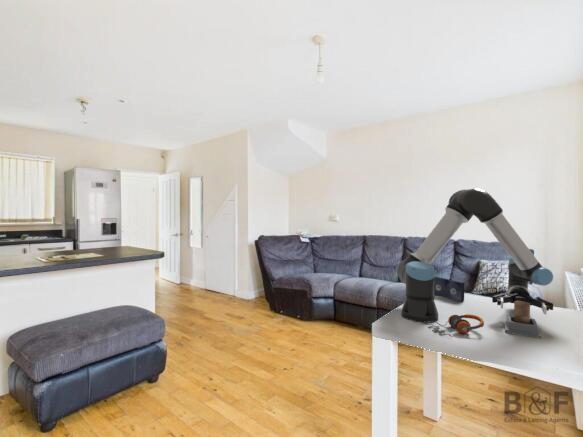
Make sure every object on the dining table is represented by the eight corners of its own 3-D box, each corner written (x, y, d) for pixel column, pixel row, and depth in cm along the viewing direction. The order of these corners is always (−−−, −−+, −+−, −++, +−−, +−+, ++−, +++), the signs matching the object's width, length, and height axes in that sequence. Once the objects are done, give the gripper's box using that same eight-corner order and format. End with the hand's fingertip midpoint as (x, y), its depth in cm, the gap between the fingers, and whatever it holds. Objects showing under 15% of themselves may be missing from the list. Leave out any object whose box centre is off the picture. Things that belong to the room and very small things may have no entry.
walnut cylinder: (514, 328, 125) (514, 303, 125) (513, 324, 130) (513, 300, 129) (530, 331, 123) (530, 305, 122) (528, 327, 127) (529, 301, 127)
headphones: (420, 316, 135) (466, 305, 135) (423, 329, 135) (469, 317, 135) (439, 332, 118) (492, 319, 118) (442, 346, 118) (495, 333, 118)
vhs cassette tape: (464, 301, 166) (464, 282, 166) (460, 302, 164) (461, 283, 164) (434, 293, 182) (434, 275, 182) (430, 294, 181) (430, 276, 181)
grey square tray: (505, 332, 124) (505, 322, 124) (504, 323, 134) (504, 314, 134) (541, 338, 119) (541, 327, 118) (537, 328, 128) (537, 318, 128)
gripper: (555, 308, 137) (564, 323, 119) (486, 299, 150) (485, 312, 132) (555, 290, 137) (565, 303, 119) (486, 283, 150) (485, 293, 132)
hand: (523, 307), depth 125 cm, fingers open, 13 cm apart
